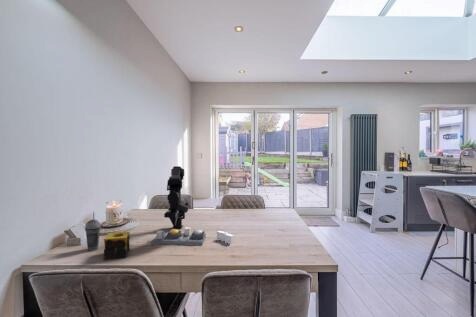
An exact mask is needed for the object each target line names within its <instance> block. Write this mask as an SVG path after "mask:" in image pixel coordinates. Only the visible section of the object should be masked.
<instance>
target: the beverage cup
mask: <svg viewBox="0 0 476 317" xmlns="http://www.w3.org/2000/svg"><path fill="white" fill-rule="evenodd" d="M101 228H102V224H101V222H100V221H99V220H98V219H95V211H93V215H92V219H91V220H88V221H87V223H86V224H85V227H84V231H85V236H86V245H87V250H88V251H89V252H95V251H96V250H97V251H98V249H99V243H100V234H101Z"/></svg>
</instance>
